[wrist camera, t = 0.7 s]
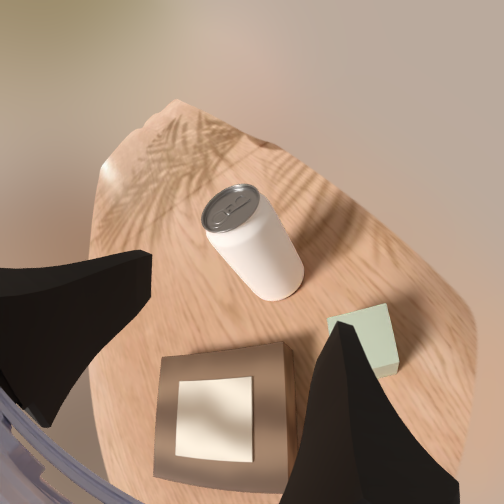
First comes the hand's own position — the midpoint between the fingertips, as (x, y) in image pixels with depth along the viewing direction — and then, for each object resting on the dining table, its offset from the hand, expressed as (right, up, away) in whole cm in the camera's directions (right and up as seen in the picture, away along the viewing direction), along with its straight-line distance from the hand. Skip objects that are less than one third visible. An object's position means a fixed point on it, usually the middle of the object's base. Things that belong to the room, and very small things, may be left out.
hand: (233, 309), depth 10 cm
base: (-2, -15, +15) cm, 21 cm away
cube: (+11, -7, +13) cm, 19 cm away
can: (+4, -1, +23) cm, 23 cm away
